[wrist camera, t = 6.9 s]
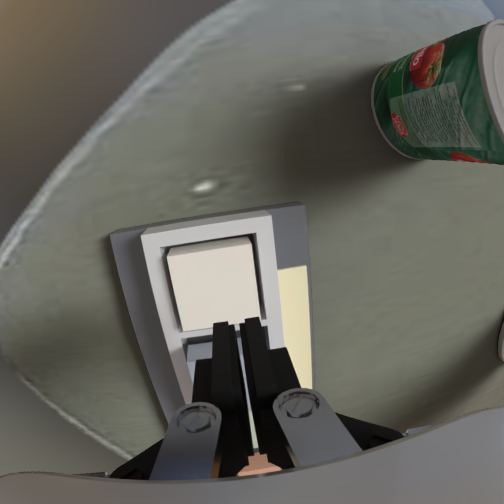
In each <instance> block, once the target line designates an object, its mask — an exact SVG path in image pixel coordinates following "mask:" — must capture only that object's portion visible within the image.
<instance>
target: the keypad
mask: <svg viewBox="0 0 504 504" xmlns="http://www.w3.org/2000/svg"><path fill="white" fill-rule="evenodd" d="M245 236H248V238H249V240H250V242H251V244H252V252H253V260H254V268H255V276H256V284H257V292H258V300H259V308H260V316H261V320H260V322H261V326H262V330H263V333H264V337H265V341H266V345H267V349H268V350H270V349H276V348H282V347H287V350H288V352H289V355H290V358H291V361H292V363H293V366H294V369H295V372H296V374H297V377H298V380H299V383H300V385H301V388H308V389H313V390H315V357H314V328H313V306H312V287H311V271H310V256H309V242H308V230H307V218H306V206H305V204H303V203H300V202H293V203H285V204H277V205H269V206H262V207H255V208H248V209H240V210H234V211H227V212H220V213H213V214H207V215H200V216H194V217H188V218H181V219H175V220H169V221H163V222H157V223H152V224H146V225H140V226H134V227H129V228H123V229H118V230H115V231H114V232H113V233H111V234H110V239H111V243H112V248H113V252H114V257H115V261H116V265H117V269H118V273H119V277H120V281H121V285H122V289H123V293H124V296H125V300H126V304H127V307H128V311H129V314H130V317H131V321H132V324H133V327H134V331H135V334H136V337H137V340H138V343H139V346H140V349H141V352H142V355H143V358H144V361H145V364H146V367H147V370H148V373H149V375H150V378H151V381H152V384H153V386H154V389H155V392H156V394H157V397H158V399H159V402H160V404H161V407H162V409H163V412H164V414H165V417H166V419H167V422H168V424H169V423H170V420H171V418H172V416H173V414H174V413H175V412H176V411H177V410H178V409H179V408H181V407H183V406H184V405H187V404H190V403H192V393H193V382H192V379H191V375H190V372H189V368H188V365H187V354H188V345H193V344H201V343H208V342H212V338H213V327H212V328H205V329H198V330H191V331H184V332H183V328H182V324H181V320H180V315H179V311H178V307H177V303H176V298H175V294H174V289H173V285H172V280H171V275H170V271H169V266H168V261H167V255H168V253H169V251H170V248H174V247H180V246H186V245H193V244H199V243H206V242H212V241H219V240H225V239H232V238H238V237H245ZM244 323H245V322H244ZM234 325H235V330H236V336H237V338H241V335H240V327H239V323H238V324H234ZM257 452H259V448H254V453H257Z"/></svg>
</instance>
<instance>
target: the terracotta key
mask: <svg viewBox="0 0 504 504" xmlns="http://www.w3.org/2000/svg"><path fill="white" fill-rule="evenodd" d="M248 459H249V466H245V467H244V468H243V469H242V470H241V471H240V472H239V473H238V474H239V476H245V475H253V474H260V473H267V472H274V471H280V470H281V469H280V467H278V466H276V465H274V464H272V463H268V459H267V454H263V455H260V453H259V452H257V453H254V456H249V457H248Z"/></svg>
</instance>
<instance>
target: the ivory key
mask: <svg viewBox="0 0 504 504" xmlns="http://www.w3.org/2000/svg"><path fill="white" fill-rule="evenodd" d="M167 261H168V266H169V271H170V275H171V280H172V285H173V289H174V294H175V298H176V303H177V307H178V311H179V315H180V320H181V324H182V328H183V332H184V331H191V330H198V329H205V328H212V327H213V323H217V322H225V321H228V323H229V325H231V324H238V323H244V322H245V320H244V319H246V318H252V317H259V318H260V320H261V316H260V308H259V300H258V292H257V284H256V276H255V268H254V260H253V252H252V244H251V242H250V240H249V238H248V236H245V237H238V238H232V239H225V240H219V241H212V242H206V243H199V244H193V245H186V246H180V247H174V248H170V251H169V253H168V255H167Z"/></svg>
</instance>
